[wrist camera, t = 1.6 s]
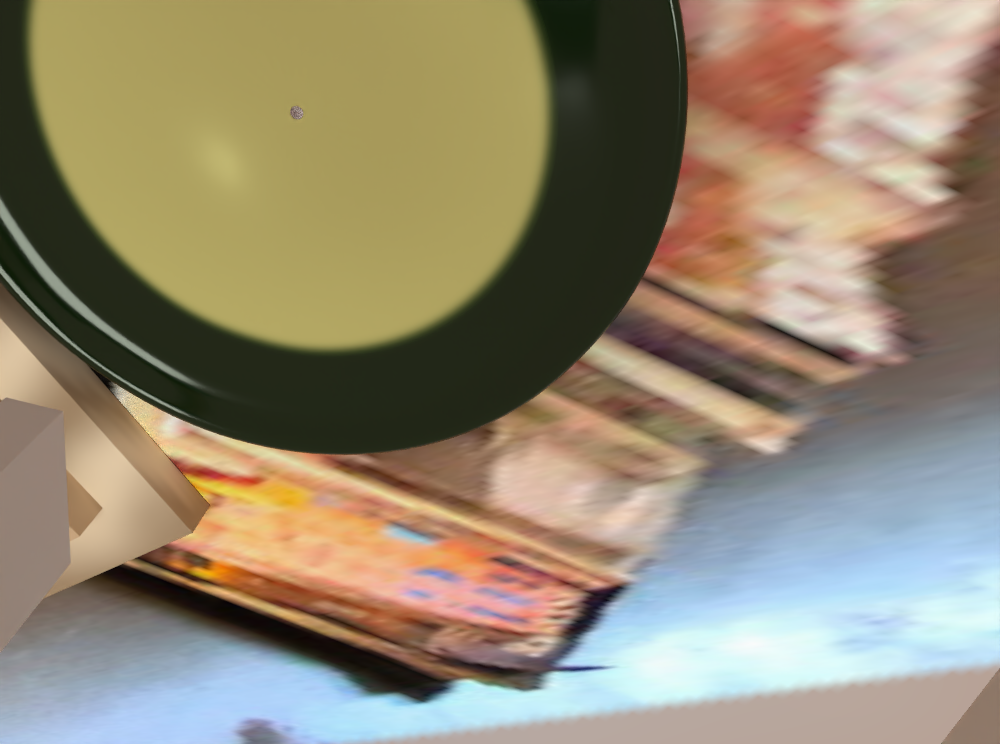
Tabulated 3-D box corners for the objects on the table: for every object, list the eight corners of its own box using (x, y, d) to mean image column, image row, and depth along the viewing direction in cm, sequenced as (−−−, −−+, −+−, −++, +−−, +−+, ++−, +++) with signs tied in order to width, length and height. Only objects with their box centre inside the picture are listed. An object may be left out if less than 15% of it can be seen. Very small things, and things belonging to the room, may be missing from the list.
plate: (55, 420, 40) (24, 450, 38) (-211, -343, 26) (-284, -364, 24) (660, 434, 37) (664, 467, 35) (714, -421, 23) (726, -452, 21)
